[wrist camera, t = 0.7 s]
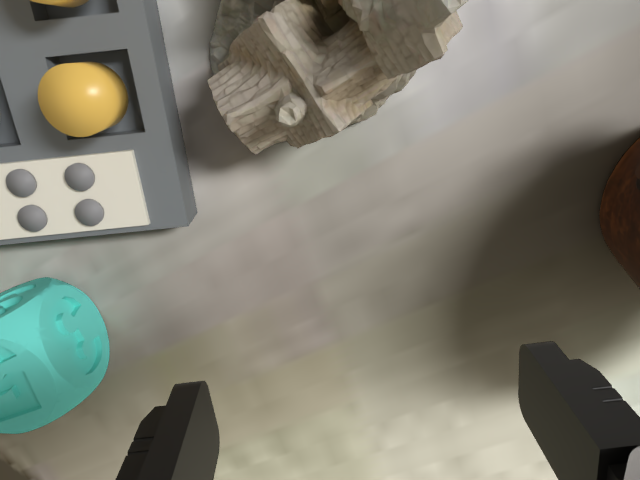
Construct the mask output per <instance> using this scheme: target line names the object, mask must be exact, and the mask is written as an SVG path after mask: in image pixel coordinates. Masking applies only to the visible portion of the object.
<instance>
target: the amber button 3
mask: <svg viewBox="0 0 640 480" xmlns="http://www.w3.org/2000/svg"><path fill="white" fill-rule="evenodd" d="M38 102H39V106H40V109H41V111H42V113H43V115H44V116H45V118H46V119H47V121H48V122H49V123H50V124H51V125H52V126H53V127H54V128H56V129H57V130H59V131H60V132H62V133H64V134H67V135H69V136H74V137H87V136H90V135H93V134H96V133H98V132H101V131H103V130H105V129H108V128H110V127H112V126H114V125H116V124H117V123H119V122H120V121H121V120H122V118H123V117H124V115H125V114H126V111H127V108H128V93H127V89H126V87H125V84H124V83H123V81H122V79H121V78H120V76H119V75H118V74H117V73H116V72H115V71H113V70H112V69H111V68H109V67H108V66H106V65H104V64H101V63H97V62H78V63H65V64H60V65H57V66H54V67H52V68H51V69H49V70H48V71H47V72H46V73H45V74H44V76H43V77H42V79H41V81H40V83H39V87H38Z"/></svg>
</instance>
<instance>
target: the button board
mask: <svg viewBox="0 0 640 480" xmlns="http://www.w3.org/2000/svg"><path fill="white" fill-rule="evenodd" d="M78 62H97V63H101V64H104V65H106V66H108V67H109V68H111V69H112V70H113V71H115V72H116V73H117V74H118V75H119V76H120V78H121V79H122V81H123V83H124V84H125V87H126V89H127V93H128V108H127V111H126V114H125V115H124V117H123V118H122V120H121V121H120V122H119V123H117V124H116V125H114V126H112V127H110V128H108V129H105V130H103V131H101V132H98V133H96V134H93V135H90V136H87V137H74V136H69V135H67V134H64V133H62V132H60V131H59V130H57V129H56V128H54V127H53V126H52V125H51V124H50V123H49V122H48V121H47V119H46V118H45V116H44V115H43V113H42V111H41V109H40V106H39V102H38V87H39V83H40V81H41V79H42V77H43V76H44V74H45V73H46V72H47V71H48V70H49V69H51V68H52V67H54V66H57V65H60V64H65V63H78ZM0 115H1V116H0V245H6V244H16V243H26V242H36V241H46V240H56V239H66V238H76V237H86V236H96V235H106V234H116V233H125V232H135V231H145V230H155V229H165V228H175V227H185V226H189V224H190V223H191V221H192V220H193V218H194V217H195V215H196V214H197V209H196V203H195V198H194V193H193V188H192V183H191V178H190V172H189V167H188V162H187V157H186V152H185V147H184V141H183V136H182V131H181V126H180V121H179V116H178V110H177V105H176V100H175V95H174V90H173V85H172V79H171V74H170V69H169V64H168V59H167V54H166V48H165V43H164V38H163V33H162V28H161V23H160V17H159V12H158V7H157V2H156V0H89V1H88V2H86V3H85V4H83V5H80V6H78V7H61V6H55V5H48V4H42V3H37V2H33V1H30V0H0Z"/></svg>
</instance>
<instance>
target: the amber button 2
mask: <svg viewBox="0 0 640 480" xmlns="http://www.w3.org/2000/svg"><path fill="white" fill-rule="evenodd" d="M30 1H33V2H37V3H42V4H48V5H55V6H61V7H78V6H80V5H83V4H85V3H86V2H88V1H89V0H30Z"/></svg>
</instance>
